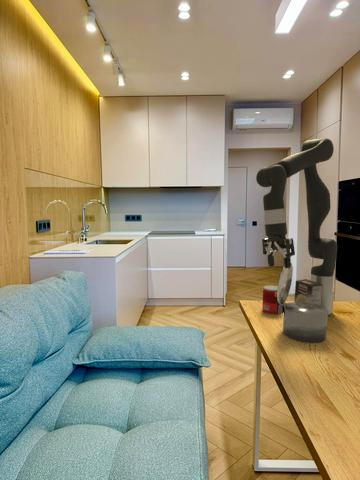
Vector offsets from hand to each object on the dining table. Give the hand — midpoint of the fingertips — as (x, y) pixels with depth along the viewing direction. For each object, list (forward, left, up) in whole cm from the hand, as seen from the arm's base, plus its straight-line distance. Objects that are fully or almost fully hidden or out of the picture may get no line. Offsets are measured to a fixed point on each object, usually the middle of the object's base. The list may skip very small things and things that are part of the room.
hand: (279, 267), depth 118 cm
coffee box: (-23, -9, -26) cm, 35 cm away
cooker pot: (-10, +3, -25) cm, 27 cm away
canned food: (-15, -22, -26) cm, 37 cm away
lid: (-6, -3, -7) cm, 9 cm away
